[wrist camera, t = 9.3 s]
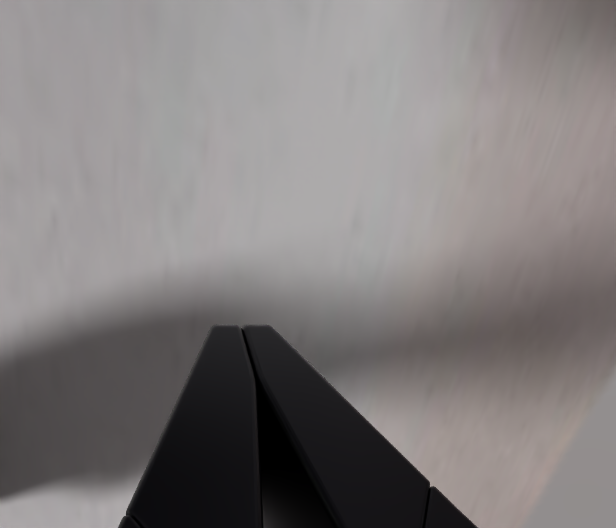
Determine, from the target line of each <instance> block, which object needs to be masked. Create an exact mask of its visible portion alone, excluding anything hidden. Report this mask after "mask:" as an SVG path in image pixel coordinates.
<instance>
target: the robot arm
mask: <svg viewBox="0 0 616 528" xmlns="http://www.w3.org/2000/svg"><path fill="white" fill-rule="evenodd" d="M118 528H478V527H477V526H475V525H474V524H473V523H472V522H471V521H470V520H469V519H468V518H467V517H466V516H465V515H464V514H463V513H462V512H461V511H459V510H458V509H457V508H456V507H455V506H454V505H453V504H452V503H451V502H450V501H449V500H448V499H447V498H446V497H445V496H444V495H443V494H442V493H441V492H440V491H439V490H438V489H437V488H436V487H434V486H432V487H430V482H429V481H428V480H427V479H426V478H425V477H424V476H423V475H422V474H421V473H420V472H419V471H418V470H417V469H416V468H415V467H414V466H413V465H412V464H411V463H410V462H409V461H408V460H407V459H406V458H405V457H404V456H403V455H402V454H401V453H400V452H399V451H398V450H397V449H396V448H395V447H394V446H393V445H392V444H391V443H390V442H389V441H388V440H387V439H386V438H385V437H384V436H383V435H382V434H380V433H379V432H378V431H377V430H376V429H375V428H374V427H373V426H372V425H371V424H370V423H369V422H368V421H367V420H366V419H365V418H364V417H363V416H362V415H361V414H360V413H359V412H358V411H357V410H356V409H355V408H354V407H353V406H352V405H351V404H350V403H349V402H348V401H347V400H346V399H345V398H344V397H343V396H342V395H341V394H340V393H339V392H338V391H337V390H336V389H335V388H334V387H333V386H332V385H331V384H329V383H328V382H327V381H326V380H325V379H324V378H323V377H322V376H321V375H320V374H319V373H318V372H317V371H316V370H315V369H314V368H313V367H312V366H311V365H310V364H309V363H308V362H307V361H306V360H305V359H304V358H303V357H302V356H301V355H300V354H299V353H298V352H297V351H296V350H295V349H294V348H293V347H292V346H291V345H290V344H289V343H288V342H287V341H286V340H285V339H284V338H283V337H282V336H281V335H280V334H279V333H277V332H276V331H275V330H274V329H273V328H272V327H271V326H269V325H244V326H243V327H242V328H241V327H239V326H238V325H214V326H212V327H211V328H210V330H209V332H208V334H207V337H206V339H205V341H204V343H203V345H202V347H201V350H200V352H199V354H198V356H197V358H196V361H195V363H194V365H193V367H192V369H191V371H190V374H189V376H188V378H187V380H186V382H185V384H184V387H183V389H182V391H181V393H180V395H179V397H178V400H177V402H176V404H175V406H174V408H173V410H172V413H171V415H170V417H169V419H168V421H167V424H166V426H165V428H164V430H163V432H162V434H161V437H160V439H159V441H158V443H157V445H156V447H155V450H154V452H153V454H152V456H151V458H150V460H149V463H148V465H147V467H146V469H145V471H144V473H143V476H142V478H141V480H140V482H139V484H138V487H137V489H136V491H135V493H134V495H133V497H132V500H131V502H130V504H129V506H128V508H127V511H126V516H124V517H123V518H122V520H121V522H120V525H119V527H118Z"/></svg>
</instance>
